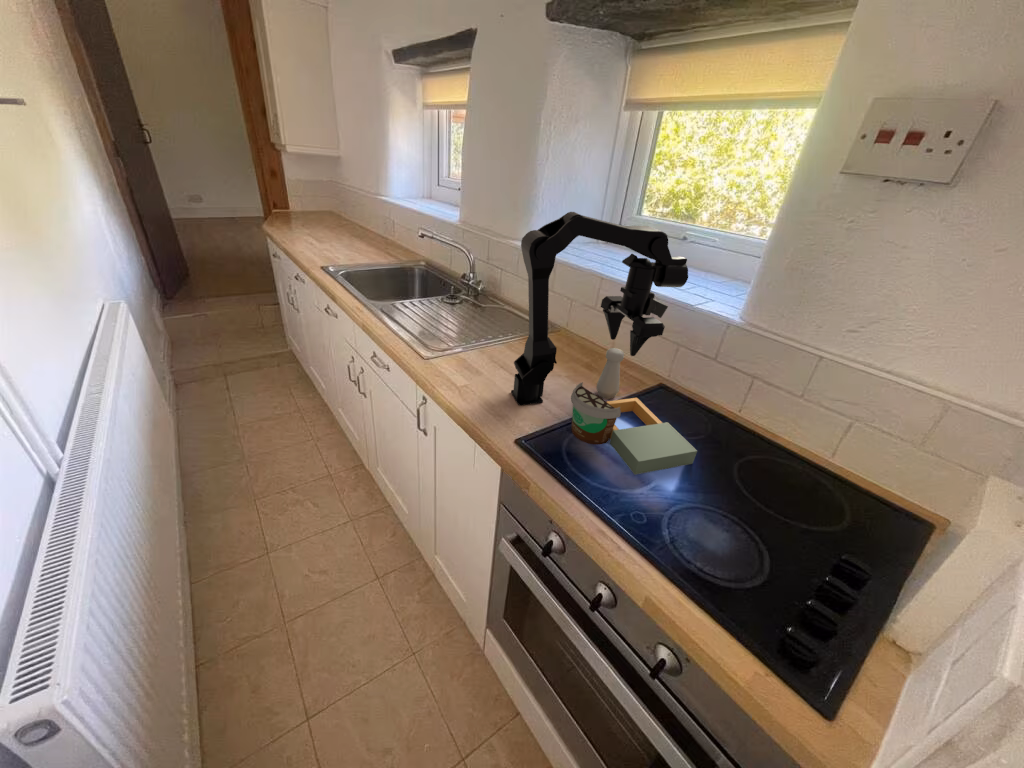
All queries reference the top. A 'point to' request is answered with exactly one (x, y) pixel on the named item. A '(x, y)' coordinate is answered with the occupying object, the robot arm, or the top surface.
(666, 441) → the orange and green frame
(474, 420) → the top surface
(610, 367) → the salt shaker
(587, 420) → the food container
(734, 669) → the top surface
